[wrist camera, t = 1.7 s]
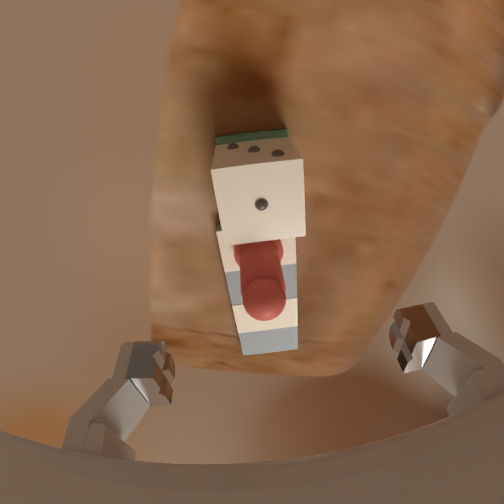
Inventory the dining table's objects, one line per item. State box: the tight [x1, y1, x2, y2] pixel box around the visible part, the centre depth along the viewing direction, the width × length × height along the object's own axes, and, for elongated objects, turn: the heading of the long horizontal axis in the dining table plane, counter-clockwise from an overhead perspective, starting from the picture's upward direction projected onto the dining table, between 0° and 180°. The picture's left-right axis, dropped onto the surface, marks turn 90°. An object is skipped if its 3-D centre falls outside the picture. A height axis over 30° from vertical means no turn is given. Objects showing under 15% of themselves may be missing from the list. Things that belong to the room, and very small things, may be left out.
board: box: [216, 224, 298, 355], centre depth 28 cm, size 16×6×1 cm, turn 6°
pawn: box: [234, 239, 286, 321], centre depth 22 cm, size 4×4×7 cm
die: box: [211, 137, 306, 246], centre depth 19 cm, size 6×5×5 cm
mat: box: [215, 129, 288, 145], centre depth 22 cm, size 6×5×1 cm
